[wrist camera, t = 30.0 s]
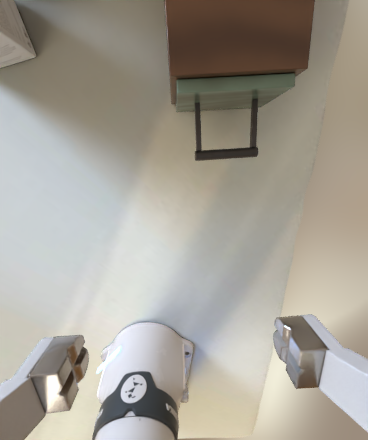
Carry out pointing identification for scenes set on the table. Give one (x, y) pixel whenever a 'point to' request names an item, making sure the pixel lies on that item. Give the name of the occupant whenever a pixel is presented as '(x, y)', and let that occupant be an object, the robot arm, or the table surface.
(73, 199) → the table surface
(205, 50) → the cabinet
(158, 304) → the table surface
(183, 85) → the drawer
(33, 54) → the cosmetic box
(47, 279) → the table surface
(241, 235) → the table surface
